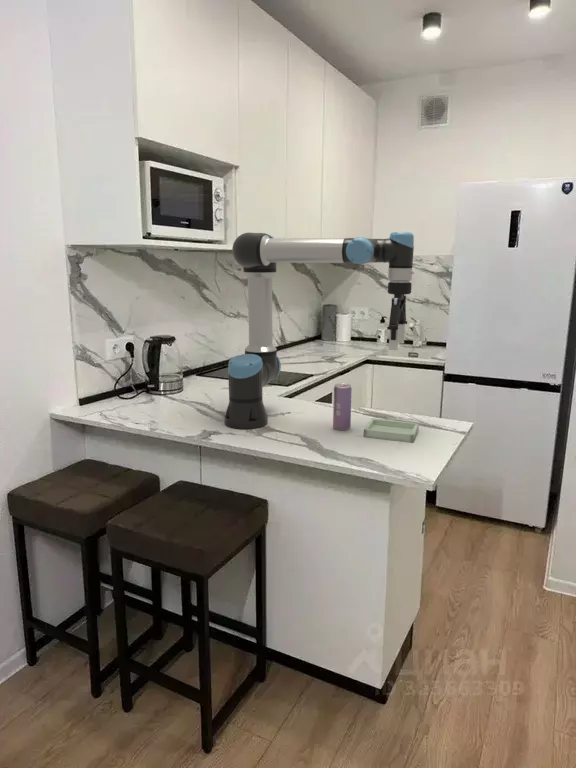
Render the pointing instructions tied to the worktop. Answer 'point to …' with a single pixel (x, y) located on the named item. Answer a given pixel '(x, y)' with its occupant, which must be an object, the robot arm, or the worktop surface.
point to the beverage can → (342, 406)
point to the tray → (391, 430)
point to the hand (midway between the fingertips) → (396, 346)
